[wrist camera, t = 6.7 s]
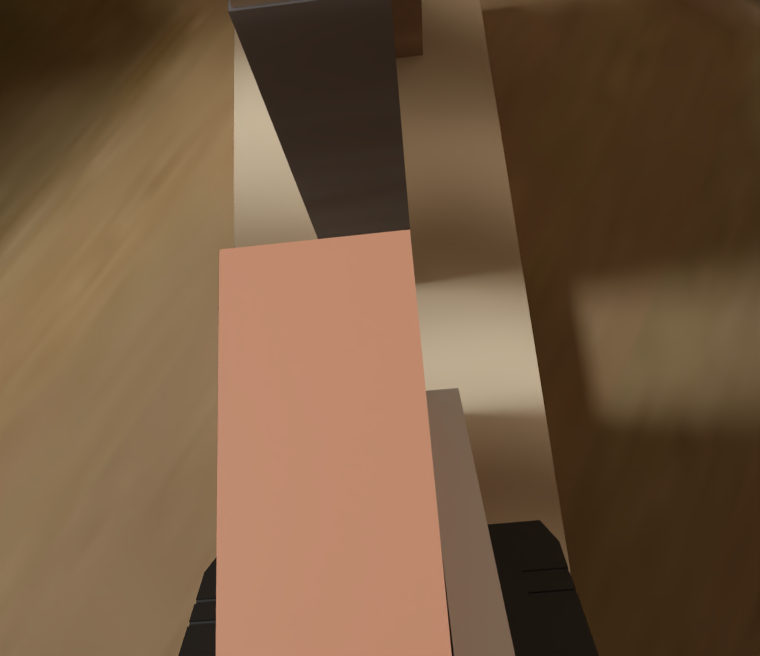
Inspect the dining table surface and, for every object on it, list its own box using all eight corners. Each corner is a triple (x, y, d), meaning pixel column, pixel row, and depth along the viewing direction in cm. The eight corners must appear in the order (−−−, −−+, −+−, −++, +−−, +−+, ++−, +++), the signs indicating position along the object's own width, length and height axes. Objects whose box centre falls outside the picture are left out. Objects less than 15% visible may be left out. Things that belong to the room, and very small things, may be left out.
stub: (456, 731, 14) (501, 1159, 4) (364, 736, 14) (210, 1165, 4) (425, 412, 16) (410, 229, 6) (346, 419, 16) (219, 249, 7)
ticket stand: (571, 650, 16) (888, 913, 5) (250, 671, 16) (-144, 955, 5) (473, 11, 22) (510, -506, 11) (247, 40, 22) (68, -431, 12)
